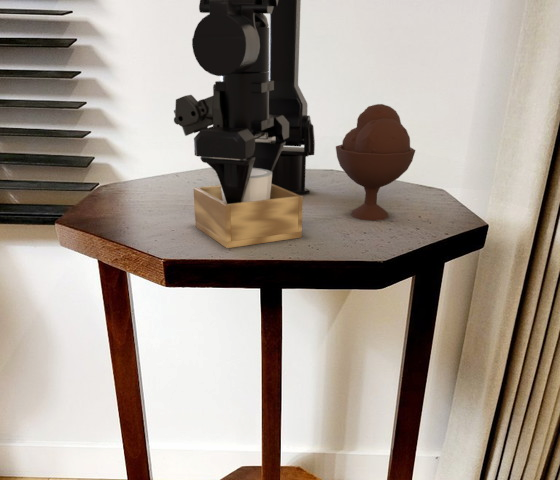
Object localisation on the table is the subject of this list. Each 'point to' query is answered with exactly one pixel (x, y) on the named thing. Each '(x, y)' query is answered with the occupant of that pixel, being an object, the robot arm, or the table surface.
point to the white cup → (257, 186)
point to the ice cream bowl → (375, 156)
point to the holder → (248, 217)
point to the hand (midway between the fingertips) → (246, 204)
